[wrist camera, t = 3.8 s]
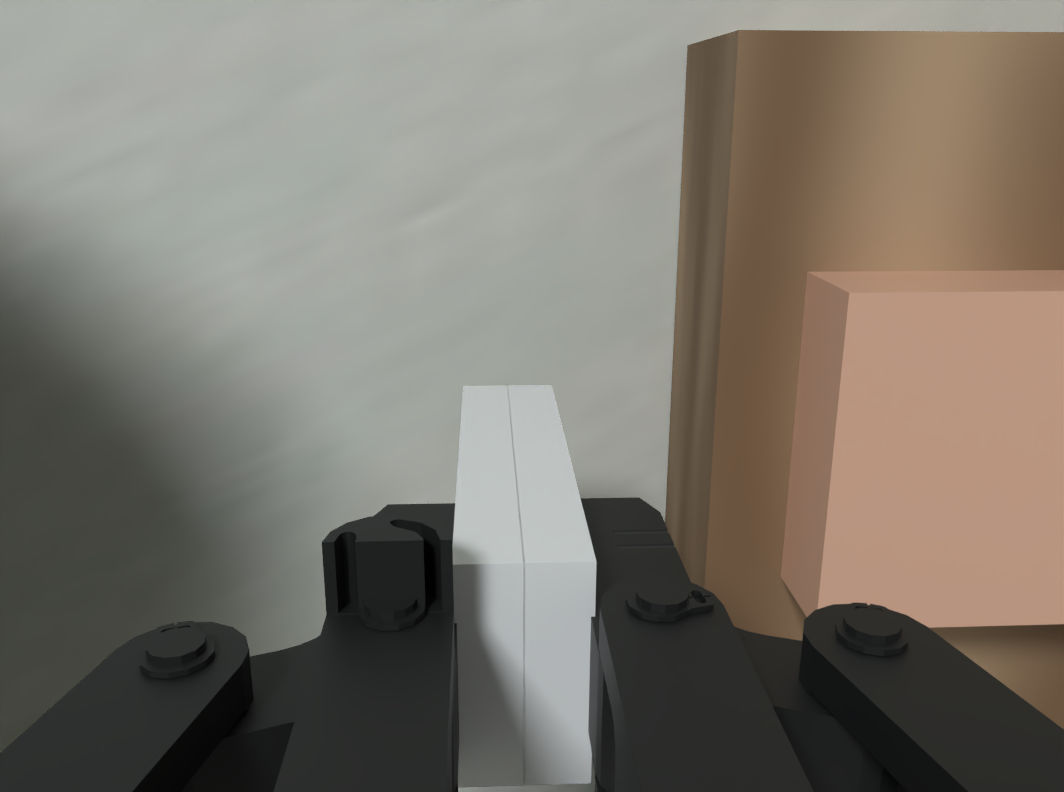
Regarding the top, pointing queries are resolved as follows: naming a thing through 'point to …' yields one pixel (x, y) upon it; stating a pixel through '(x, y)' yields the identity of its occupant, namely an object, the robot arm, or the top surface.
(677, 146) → the top surface
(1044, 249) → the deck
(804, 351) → the tile
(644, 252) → the top surface
